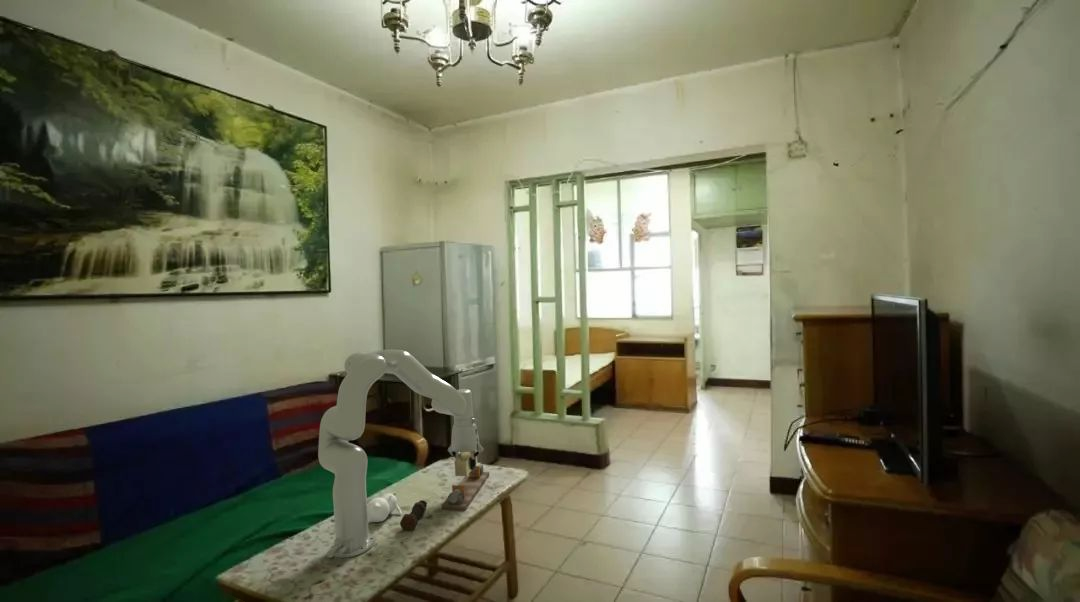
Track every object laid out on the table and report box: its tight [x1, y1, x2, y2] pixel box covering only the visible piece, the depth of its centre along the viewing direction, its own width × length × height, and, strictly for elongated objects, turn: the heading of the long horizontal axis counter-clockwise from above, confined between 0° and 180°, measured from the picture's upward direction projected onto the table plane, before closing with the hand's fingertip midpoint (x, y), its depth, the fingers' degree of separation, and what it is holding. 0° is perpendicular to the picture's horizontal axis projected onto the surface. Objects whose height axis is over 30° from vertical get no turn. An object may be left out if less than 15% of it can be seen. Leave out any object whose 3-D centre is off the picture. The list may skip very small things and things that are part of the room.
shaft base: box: [441, 462, 490, 511], centre depth 175 cm, size 30×9×6 cm, turn 171°
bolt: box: [399, 499, 428, 532], centre depth 154 cm, size 6×5×15 cm
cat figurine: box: [367, 491, 402, 524], centre depth 156 cm, size 9×11×12 cm
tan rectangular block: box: [454, 448, 478, 477], centre depth 175 cm, size 4×13×6 cm, turn 170°
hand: (466, 467), depth 175 cm, fingers closed on tan rectangular block, 4 cm apart
